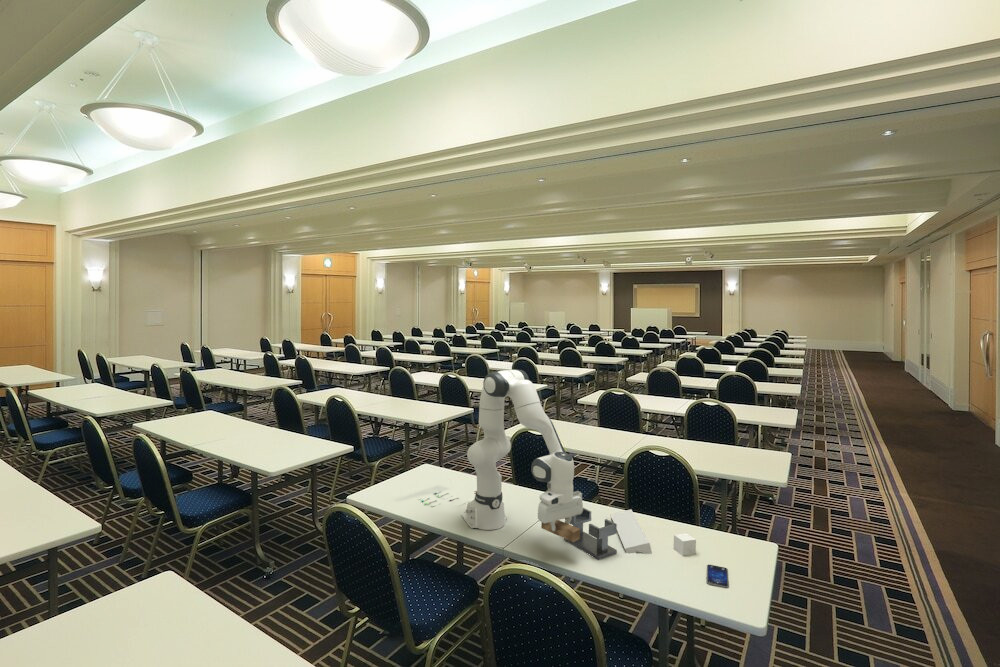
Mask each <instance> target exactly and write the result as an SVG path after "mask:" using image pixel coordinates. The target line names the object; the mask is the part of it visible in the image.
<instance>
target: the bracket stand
mask: <svg viewBox="0 0 1000 667" xmlns="http://www.w3.org/2000/svg"><path fill="white" fill-rule="evenodd" d="M565 521H566V518H564V522H565ZM591 521H592V511H591V510H589V509H587V508H586V507H583V512H582V514H580V515H576V516H572V519H571V521H570V523H569V525H572V526H574V527H577V528H579V529H580V539H579V540H577V541H575V542H572V541H569V540H567V539H565V538H563V540H564V541H566V542H567V543H569V544H571V545H572V546H574V547H576V548H577V549H579V550H580V551H582V550H583V551H582V552H584V553H586V554H587V553H588V554H587V555H589V554H590V555H589V556H590V557H592V556H593V557H592V558H594V559H596V560H597V561H599V560H603V559H604V558H608V557H611V556H614V555H616V554H617V552H618V550H617V549H616V548H615V547H612V546H610V545H609V537H611V536H614V535H617V529H616V528H617V524H615V523H614V522H613V521H611V520H609V519H607V518H606V519H604V526H603V527H598V526H596V525H595V524H593V523H589V524H588V533H587V532H585V531H584V524H585V523H588V522H591Z"/></svg>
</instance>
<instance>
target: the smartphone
mask: <svg viewBox="0 0 1000 667" xmlns="http://www.w3.org/2000/svg"><path fill="white" fill-rule="evenodd" d="M705 579H706V582H705V583H706V584H707V585H708V586H712V587H716V588H717V587H718V588H721V589H729V586H730V584H729V570H728V568H727V567H724V566H719V565H714V564H707V565H706V578H705Z"/></svg>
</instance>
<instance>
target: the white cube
mask: <svg viewBox="0 0 1000 667" xmlns="http://www.w3.org/2000/svg"><path fill="white" fill-rule="evenodd" d="M696 543H697V539H696V538H695V537H693V536H691V535H690V534H689V533H687V532H686V533H677V534H673V548H672V549H673V550H674V551H675V552H677V553H678V554H679V555H681V556H682V557H685V556H690V555H696V550H697V547H696V546H697V544H696Z"/></svg>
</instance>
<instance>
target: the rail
mask: <svg viewBox="0 0 1000 667" xmlns="http://www.w3.org/2000/svg"><path fill="white" fill-rule="evenodd" d="M564 522H565V521H561V519H560V520H556V522H555V523H554V524H555V525H556V526H557V531H552V526H551V524H550V522H548V523H542V522H541V523H540V524H541V527H540V528H541V529H543V530H545V531H547V532H549V533H552V534H553V535H557V536H559V537H560V538H562V539H564V538H565V539H567V540H569V541H572V542H575V541H577V540H579V539H580V529H579V528H577V527H574V526H573V525H572V524H570V523H569V524H567V523H564Z"/></svg>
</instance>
